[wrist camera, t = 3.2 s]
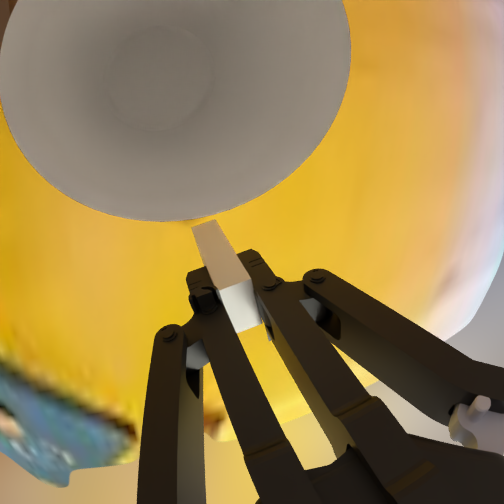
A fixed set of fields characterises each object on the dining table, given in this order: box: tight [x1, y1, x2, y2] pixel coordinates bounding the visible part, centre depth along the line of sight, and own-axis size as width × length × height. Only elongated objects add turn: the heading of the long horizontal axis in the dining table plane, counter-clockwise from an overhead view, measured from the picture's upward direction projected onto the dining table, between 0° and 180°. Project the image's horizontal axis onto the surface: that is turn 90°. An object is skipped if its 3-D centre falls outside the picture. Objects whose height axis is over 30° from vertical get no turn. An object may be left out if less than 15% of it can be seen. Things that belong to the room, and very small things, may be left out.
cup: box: [0, 0, 351, 222], centre depth 10 cm, size 9×9×12 cm
